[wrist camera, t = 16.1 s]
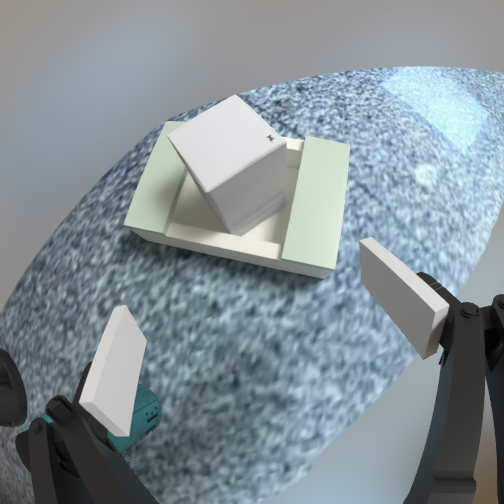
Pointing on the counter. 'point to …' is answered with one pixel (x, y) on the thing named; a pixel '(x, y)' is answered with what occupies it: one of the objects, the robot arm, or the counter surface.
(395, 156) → the counter surface
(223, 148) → the supplement box
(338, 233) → the cream green tray
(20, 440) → the beverage bottle
